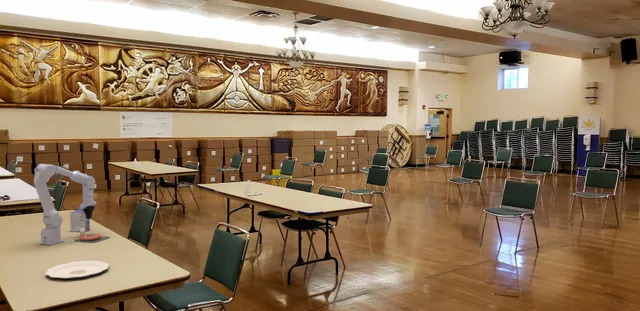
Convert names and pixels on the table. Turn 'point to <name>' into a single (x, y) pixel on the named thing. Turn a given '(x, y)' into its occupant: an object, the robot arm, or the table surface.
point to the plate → (65, 269)
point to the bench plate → (93, 240)
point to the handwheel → (88, 235)
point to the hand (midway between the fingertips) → (88, 218)
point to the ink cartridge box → (79, 221)
